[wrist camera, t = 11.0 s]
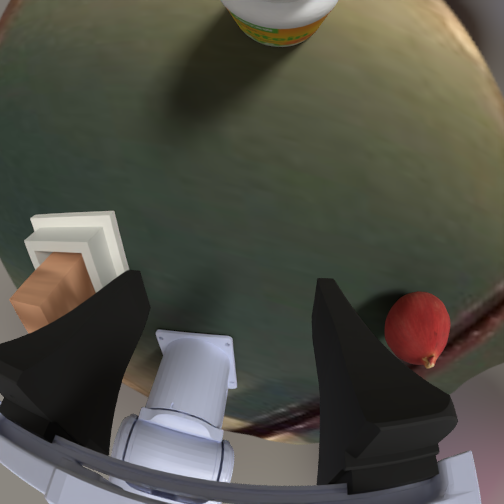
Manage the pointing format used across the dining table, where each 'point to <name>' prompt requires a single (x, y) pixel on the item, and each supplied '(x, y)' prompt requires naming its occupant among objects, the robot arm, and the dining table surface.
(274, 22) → the supplement bottle
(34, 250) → the socket
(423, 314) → the onion
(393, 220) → the dining table surface
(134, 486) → the robot arm
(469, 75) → the dining table surface
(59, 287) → the peg
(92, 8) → the dining table surface
